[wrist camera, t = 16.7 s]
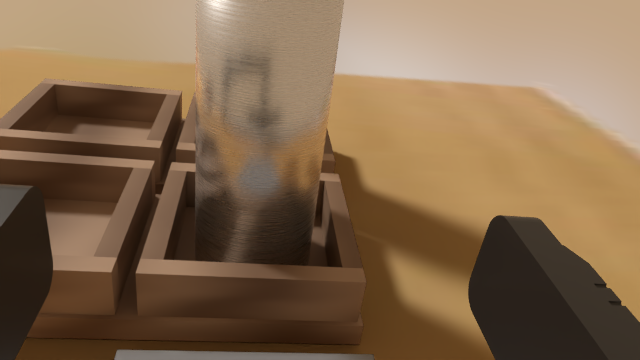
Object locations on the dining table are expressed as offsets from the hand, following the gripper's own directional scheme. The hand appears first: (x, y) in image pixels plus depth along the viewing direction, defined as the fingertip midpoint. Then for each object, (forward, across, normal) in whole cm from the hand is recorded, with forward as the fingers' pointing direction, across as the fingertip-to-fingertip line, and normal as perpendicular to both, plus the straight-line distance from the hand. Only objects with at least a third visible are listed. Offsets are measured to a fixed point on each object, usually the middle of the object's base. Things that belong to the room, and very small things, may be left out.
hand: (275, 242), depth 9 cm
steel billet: (+11, 0, +8) cm, 14 cm away
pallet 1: (+20, +4, +10) cm, 23 cm away
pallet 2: (+11, +4, +10) cm, 15 cm away
